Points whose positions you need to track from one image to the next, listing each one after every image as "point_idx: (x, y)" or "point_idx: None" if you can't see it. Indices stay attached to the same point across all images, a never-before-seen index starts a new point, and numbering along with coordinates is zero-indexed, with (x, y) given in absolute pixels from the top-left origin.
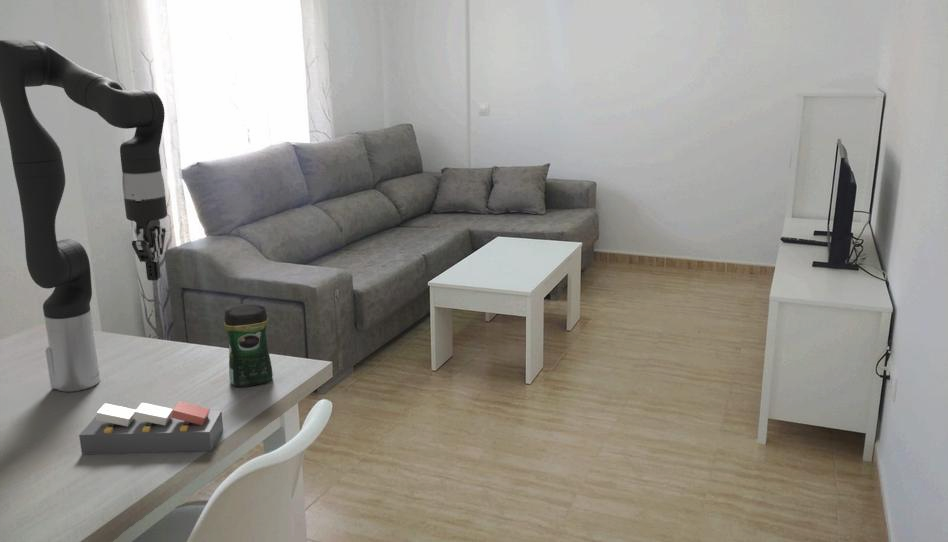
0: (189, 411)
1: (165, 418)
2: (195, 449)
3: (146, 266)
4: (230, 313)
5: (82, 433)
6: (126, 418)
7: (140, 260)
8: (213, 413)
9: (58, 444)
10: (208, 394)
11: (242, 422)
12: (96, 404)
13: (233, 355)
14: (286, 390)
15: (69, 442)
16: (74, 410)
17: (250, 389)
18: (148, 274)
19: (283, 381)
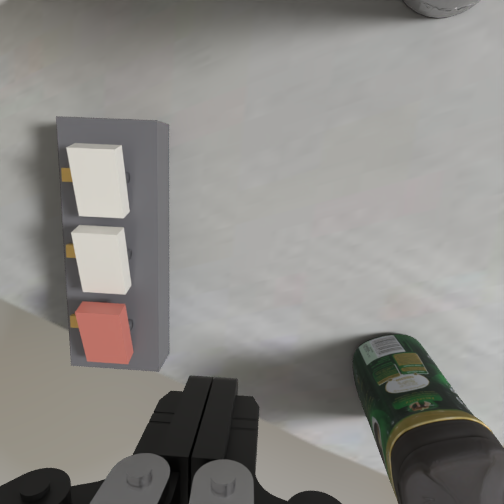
0: (92, 337)
1: (83, 289)
2: None
3: (165, 436)
4: (414, 474)
5: (62, 121)
6: (78, 210)
7: (13, 486)
8: (147, 359)
9: (118, 54)
10: (329, 299)
11: None
12: (307, 62)
13: (376, 387)
14: (327, 441)
15: (126, 74)
16: (279, 20)
17: (342, 376)
18: (156, 413)
19: None
